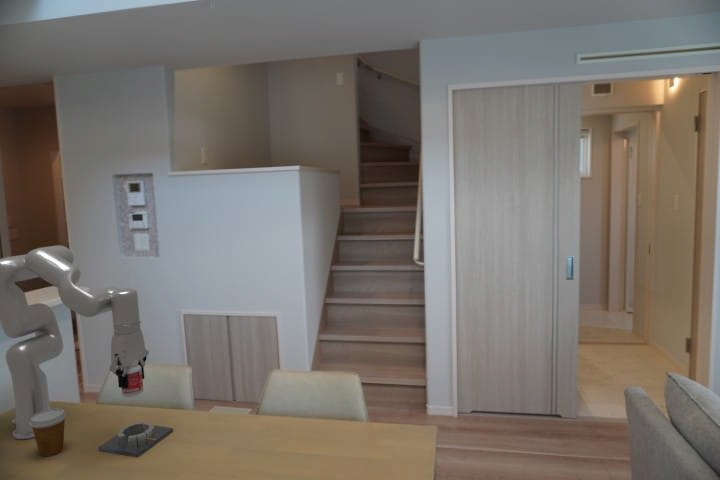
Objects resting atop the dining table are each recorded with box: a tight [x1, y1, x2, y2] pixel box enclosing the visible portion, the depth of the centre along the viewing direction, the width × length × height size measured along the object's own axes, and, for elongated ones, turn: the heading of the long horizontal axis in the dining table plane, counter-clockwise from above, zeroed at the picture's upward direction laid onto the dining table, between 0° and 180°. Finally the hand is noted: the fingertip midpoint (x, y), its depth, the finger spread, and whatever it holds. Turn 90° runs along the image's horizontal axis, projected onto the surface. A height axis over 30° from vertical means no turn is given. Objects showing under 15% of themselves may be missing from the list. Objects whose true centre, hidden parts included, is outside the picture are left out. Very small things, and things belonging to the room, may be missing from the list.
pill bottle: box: [121, 360, 144, 398], centre depth 153 cm, size 6×6×11 cm
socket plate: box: [98, 421, 174, 458], centre depth 155 cm, size 15×16×4 cm
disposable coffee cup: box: [30, 408, 67, 458], centre depth 150 cm, size 10×10×12 cm
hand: (131, 382), depth 153 cm, fingers closed on pill bottle, 6 cm apart
